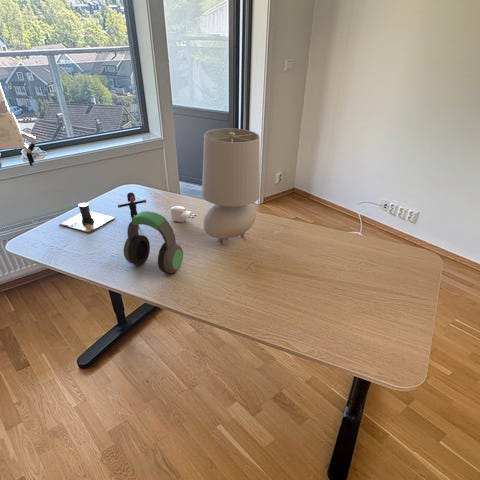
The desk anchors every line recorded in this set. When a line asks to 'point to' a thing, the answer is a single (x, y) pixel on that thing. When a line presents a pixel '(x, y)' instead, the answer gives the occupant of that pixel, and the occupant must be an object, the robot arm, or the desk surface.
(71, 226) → the board
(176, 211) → the power adapter
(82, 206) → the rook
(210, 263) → the desk surface
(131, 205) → the figurine
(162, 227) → the headphones
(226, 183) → the table lamp
